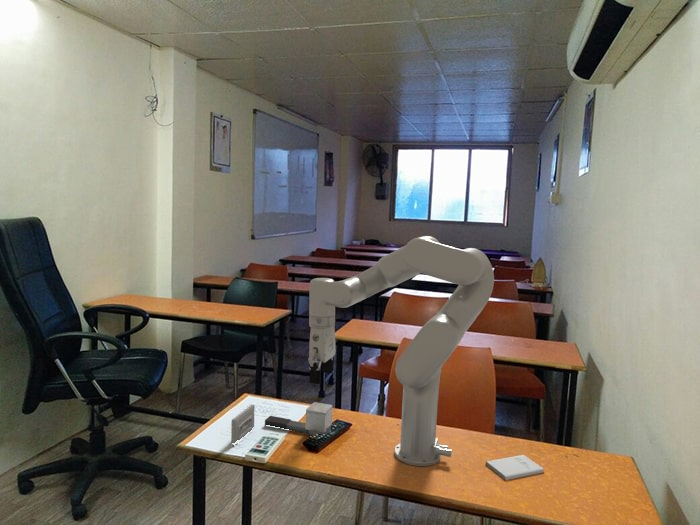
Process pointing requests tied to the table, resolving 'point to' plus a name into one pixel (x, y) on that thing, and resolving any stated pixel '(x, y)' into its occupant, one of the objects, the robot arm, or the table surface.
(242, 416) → the cassette
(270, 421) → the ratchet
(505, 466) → the external hard drive
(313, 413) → the grey block
